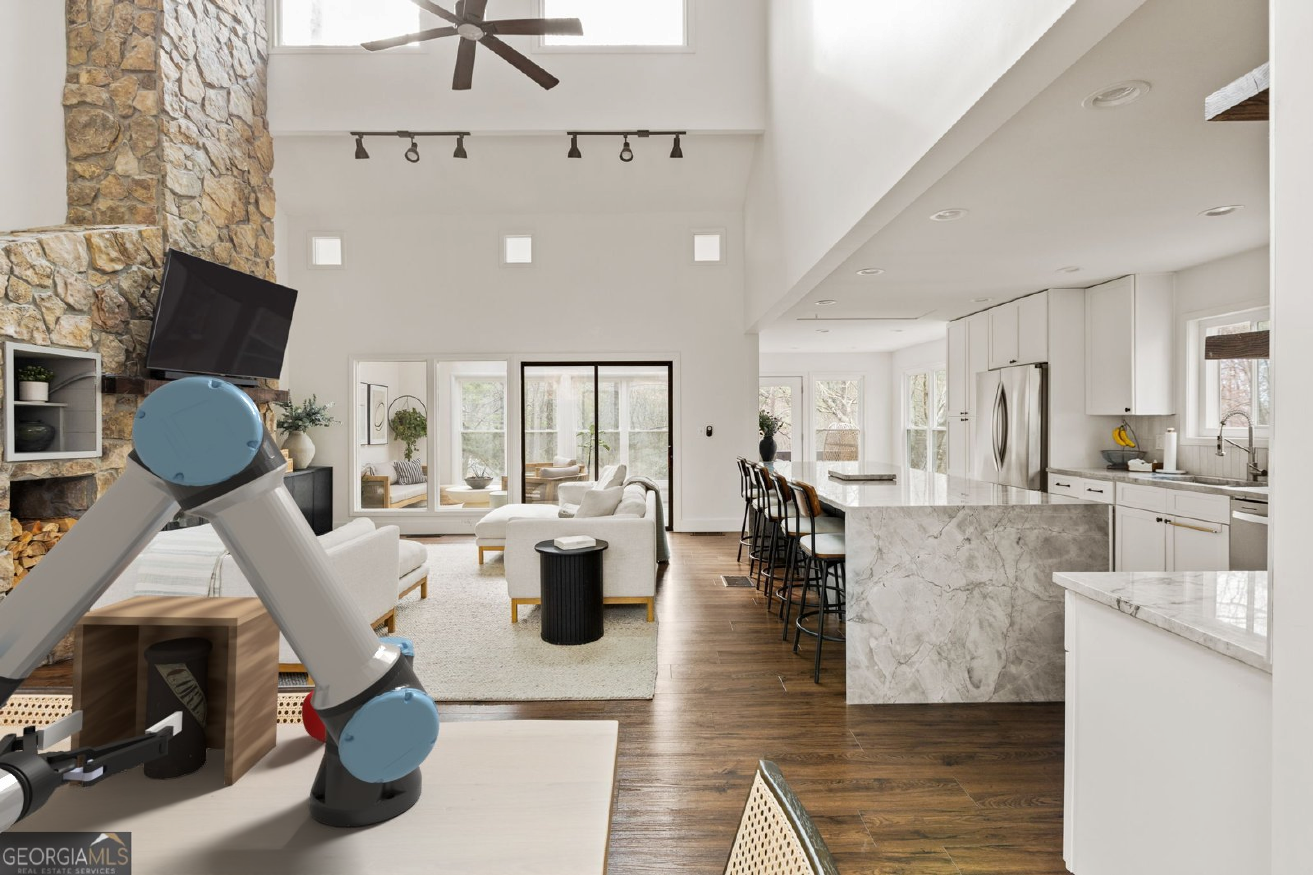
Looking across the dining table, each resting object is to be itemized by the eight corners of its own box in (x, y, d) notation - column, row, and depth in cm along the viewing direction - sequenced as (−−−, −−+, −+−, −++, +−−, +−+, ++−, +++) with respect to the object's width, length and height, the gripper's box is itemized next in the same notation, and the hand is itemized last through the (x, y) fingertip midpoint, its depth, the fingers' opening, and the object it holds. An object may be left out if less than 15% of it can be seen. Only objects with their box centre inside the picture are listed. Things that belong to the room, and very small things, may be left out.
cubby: (276, 745, 115) (280, 597, 115) (232, 785, 102) (237, 618, 102) (132, 745, 113) (137, 595, 114) (69, 785, 100) (75, 616, 100)
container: (174, 785, 101) (178, 651, 102) (125, 777, 103) (129, 646, 103) (222, 758, 110) (226, 635, 110) (176, 752, 112) (179, 631, 112)
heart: (325, 757, 111) (327, 696, 112) (292, 756, 111) (294, 696, 111) (354, 727, 123) (355, 672, 123) (323, 726, 123) (325, 671, 123)
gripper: (-129, 832, 74) (36, 746, 95) (108, 832, 76) (219, 747, 97) (-126, 764, 74) (38, 693, 96) (111, 765, 76) (221, 695, 97)
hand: (129, 720), depth 96 cm, fingers open, 13 cm apart
